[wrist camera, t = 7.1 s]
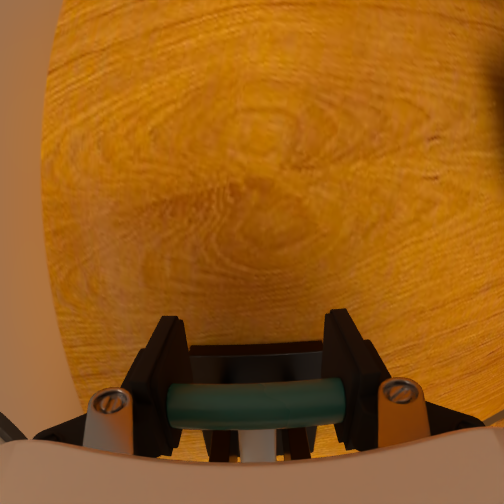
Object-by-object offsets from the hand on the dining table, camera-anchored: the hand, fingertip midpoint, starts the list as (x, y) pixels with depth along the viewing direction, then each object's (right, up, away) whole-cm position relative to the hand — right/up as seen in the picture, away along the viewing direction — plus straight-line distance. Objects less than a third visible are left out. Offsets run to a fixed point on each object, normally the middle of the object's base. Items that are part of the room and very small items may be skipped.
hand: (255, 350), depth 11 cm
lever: (0, -6, -1) cm, 6 cm away
